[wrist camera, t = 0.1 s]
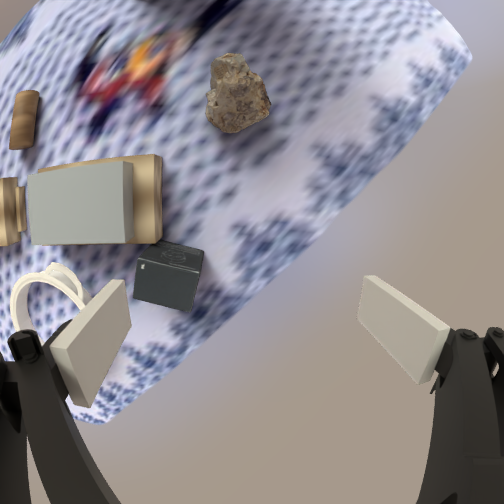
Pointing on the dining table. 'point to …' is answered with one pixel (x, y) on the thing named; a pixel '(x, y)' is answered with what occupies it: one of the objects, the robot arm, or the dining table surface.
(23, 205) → the track
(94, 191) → the slab
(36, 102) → the roller
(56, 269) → the cream oval ring
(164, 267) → the box
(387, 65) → the dining table surface
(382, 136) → the dining table surface
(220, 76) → the rock
